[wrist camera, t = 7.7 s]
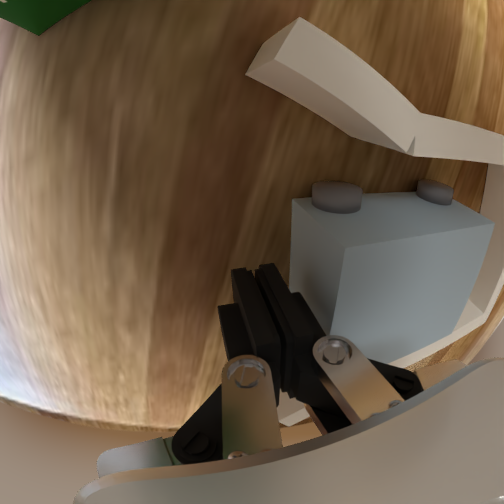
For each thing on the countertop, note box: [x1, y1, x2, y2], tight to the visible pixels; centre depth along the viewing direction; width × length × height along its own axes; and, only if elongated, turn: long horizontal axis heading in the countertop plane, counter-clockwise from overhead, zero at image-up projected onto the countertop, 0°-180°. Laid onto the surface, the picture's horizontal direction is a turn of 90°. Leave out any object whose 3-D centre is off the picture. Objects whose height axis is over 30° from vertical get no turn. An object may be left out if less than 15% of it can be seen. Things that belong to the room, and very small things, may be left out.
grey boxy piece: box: [289, 179, 495, 364], centre depth 12 cm, size 8×9×4 cm
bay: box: [245, 17, 504, 427], centre depth 13 cm, size 19×18×4 cm
